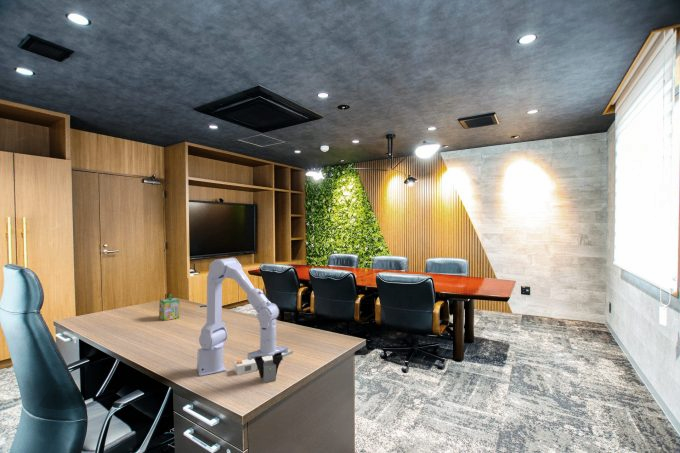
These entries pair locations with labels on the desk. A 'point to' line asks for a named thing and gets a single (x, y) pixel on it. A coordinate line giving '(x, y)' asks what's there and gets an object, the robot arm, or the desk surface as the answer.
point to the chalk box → (169, 308)
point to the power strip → (248, 365)
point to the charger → (269, 371)
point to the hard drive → (287, 353)
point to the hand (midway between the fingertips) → (268, 375)
